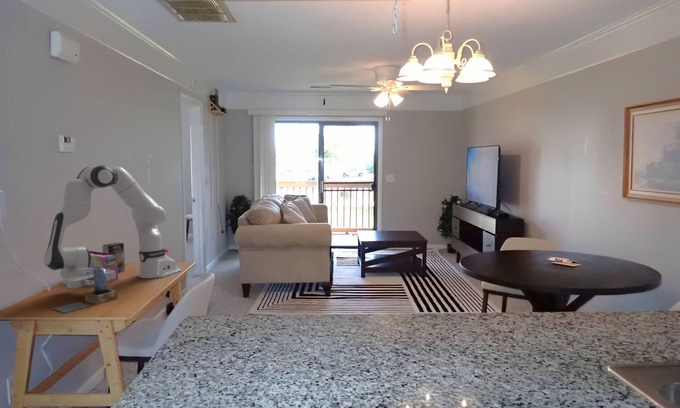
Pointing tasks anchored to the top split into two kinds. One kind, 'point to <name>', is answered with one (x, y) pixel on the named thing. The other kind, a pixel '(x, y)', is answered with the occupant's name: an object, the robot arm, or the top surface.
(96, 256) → the gum box
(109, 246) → the coffee box
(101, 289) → the tall blue steel cylinder
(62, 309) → the charcoal mat
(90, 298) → the oak collar
